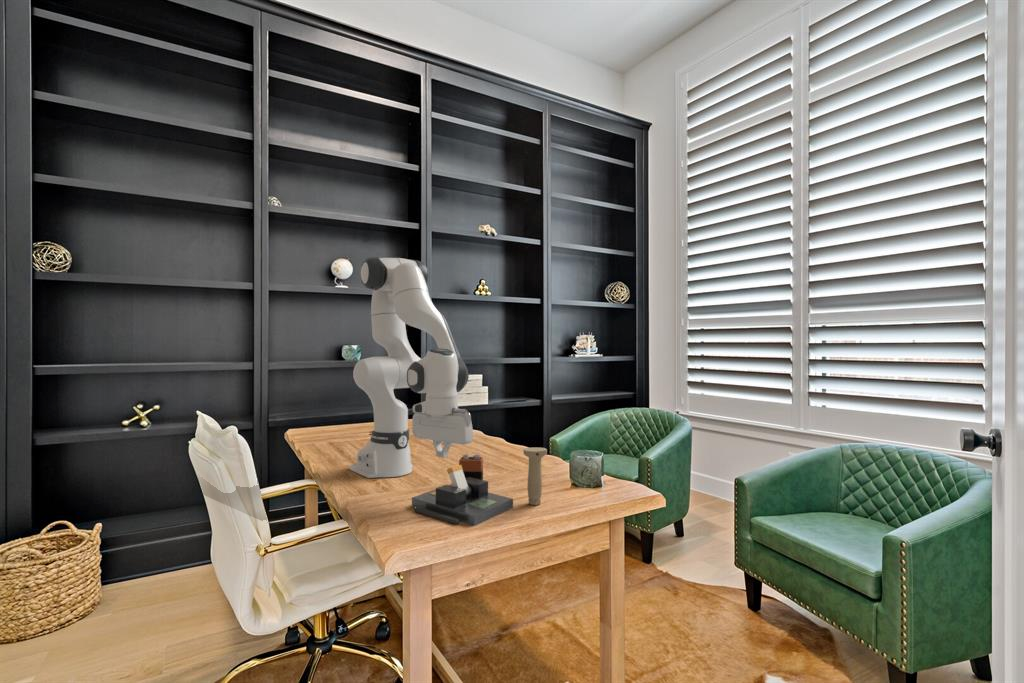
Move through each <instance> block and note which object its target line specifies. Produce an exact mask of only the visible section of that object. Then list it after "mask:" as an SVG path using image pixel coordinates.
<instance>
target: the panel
mask: <svg viewBox="0 0 1024 683" xmlns="http://www.w3.org/2000/svg"><path fill="white" fill-rule="evenodd" d="M465 479H466V482H467V485H468V486H469V487H470V488H471V494H469V495H467V496H466V489H462V488H458V487H454V486H453V485H452V483H451V484H445V485H441V486H438V487H435V489H433V490H429V491H428V492H425V493H422V494H419V495H416V496H413V497H411V507H412V506H413V507H412V508H415V507H418V508H421V509H425V510H428V511H431V512H435V513H438V514H441V515H445V516H448V517H451V518H455V519H458V520H459V522H462V523H464V524H467V523H468V525H471V526H476V525H479V524H480V523H483V522H485V521H487V520H489V519H491V518H493V517H495V516H498V515H501V514H502V513H505V512H507V511H508V510H511V509H513V508H514V498H513V497H507V496H503V495H500V494H496V493H492V492H489V481H488V480H484V479H483V480H480V479H475V478H471V477H468V478H465ZM506 510H507V511H506ZM504 511H505V512H504Z"/></svg>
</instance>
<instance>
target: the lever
mask: <svg viewBox="0 0 1024 683" xmlns="http://www.w3.org/2000/svg"><path fill="white" fill-rule="evenodd" d="M462 469H463V468H462V465H459V464H458V465H455V466H451V467H450V468H447V469H446V471H447V474H448V475H449V478H450V481H451V484H452V485H453V486H454V487H458V488H462V489H466V496H467V495H469V494H471V488H470V487H469V486H468V485H467V482H466V479H465V476H464V473H463V470H462Z"/></svg>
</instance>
